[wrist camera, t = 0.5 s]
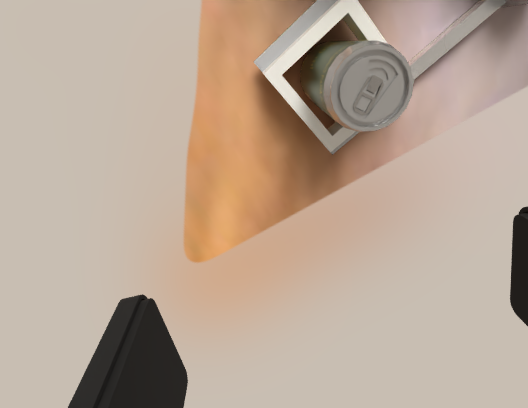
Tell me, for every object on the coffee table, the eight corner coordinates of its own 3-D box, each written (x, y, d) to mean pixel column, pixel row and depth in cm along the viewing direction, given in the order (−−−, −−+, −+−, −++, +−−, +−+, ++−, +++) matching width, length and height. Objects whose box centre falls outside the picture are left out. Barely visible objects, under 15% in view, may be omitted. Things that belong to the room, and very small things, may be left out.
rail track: (465, -151, 27) (500, -181, 24) (531, -20, 31) (570, -28, 27) (279, 31, 31) (284, 29, 28) (356, 127, 35) (369, 137, 31)
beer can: (340, 114, 34) (386, 148, 23) (288, 89, 33) (310, 113, 22) (370, 58, 33) (435, 66, 22) (316, 29, 31) (355, 22, 20)
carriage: (334, -17, 29) (342, -22, 27) (408, 88, 32) (421, 92, 30) (253, 61, 31) (254, 63, 28) (331, 153, 34) (337, 161, 32)
